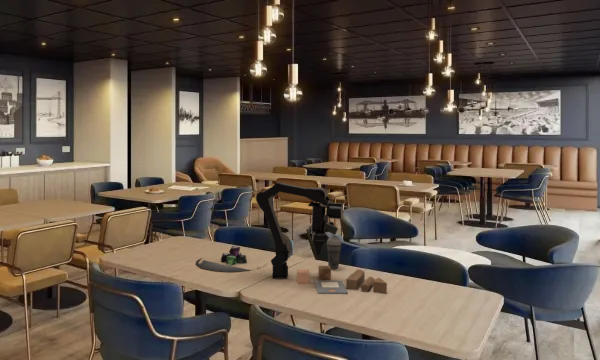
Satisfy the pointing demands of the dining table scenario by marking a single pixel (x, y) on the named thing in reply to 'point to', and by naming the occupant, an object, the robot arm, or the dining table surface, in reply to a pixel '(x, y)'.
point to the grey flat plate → (330, 287)
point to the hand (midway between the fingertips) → (316, 252)
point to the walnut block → (324, 273)
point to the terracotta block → (303, 276)
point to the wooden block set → (358, 278)
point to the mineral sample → (230, 258)
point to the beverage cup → (333, 251)
